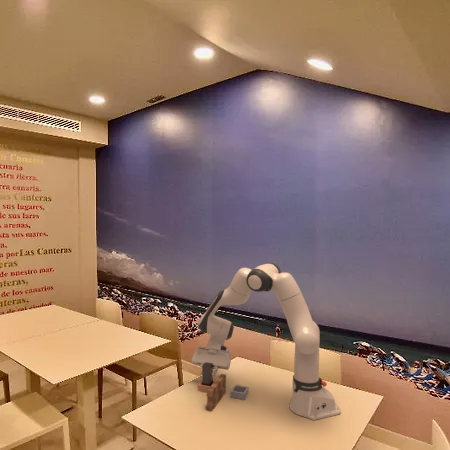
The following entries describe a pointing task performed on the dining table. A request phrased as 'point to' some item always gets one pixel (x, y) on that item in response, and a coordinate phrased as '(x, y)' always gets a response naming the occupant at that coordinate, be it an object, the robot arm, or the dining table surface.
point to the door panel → (216, 392)
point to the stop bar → (207, 374)
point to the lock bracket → (203, 387)
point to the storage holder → (239, 392)
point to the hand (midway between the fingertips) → (207, 374)
